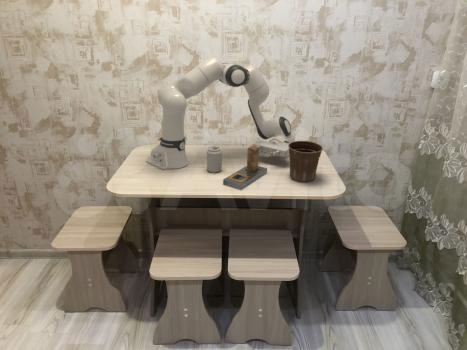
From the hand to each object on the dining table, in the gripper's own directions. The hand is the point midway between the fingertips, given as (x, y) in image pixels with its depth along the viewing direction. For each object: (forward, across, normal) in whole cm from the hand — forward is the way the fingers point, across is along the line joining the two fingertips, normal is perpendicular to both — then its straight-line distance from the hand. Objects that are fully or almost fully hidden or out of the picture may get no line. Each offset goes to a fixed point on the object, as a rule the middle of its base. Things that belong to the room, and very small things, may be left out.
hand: (263, 152), depth 200 cm
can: (+18, -18, +8) cm, 27 cm away
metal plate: (+17, 0, +8) cm, 19 cm away
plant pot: (0, +22, +8) cm, 24 cm away
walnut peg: (+11, 0, +8) cm, 14 cm away
